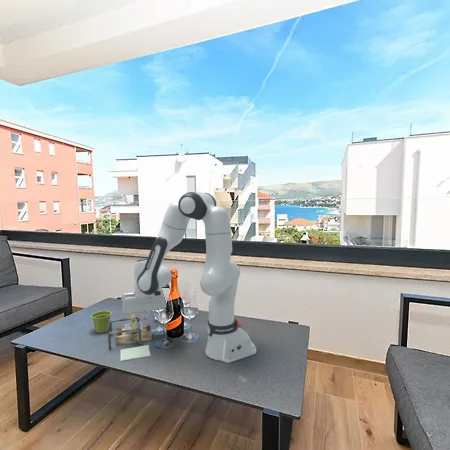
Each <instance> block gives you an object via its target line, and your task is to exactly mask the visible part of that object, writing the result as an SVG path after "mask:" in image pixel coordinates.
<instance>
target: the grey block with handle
mask: <svg viewBox="0 0 450 450" xmlns="http://www.w3.org/2000/svg"><path fill="white" fill-rule="evenodd" d="M142 326H143V321H139V322H137V321H136V328H140V329H141V332H143V327H142ZM124 329H125V330H128V329H132V327H131V322H130V323H124ZM133 333H139V330H138V331H131V332H125V335H126V334H133Z"/></svg>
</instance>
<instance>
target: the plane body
mask: <svg viewBox="0 0 450 450" xmlns="http://www.w3.org/2000/svg"><path fill="white" fill-rule="evenodd" d="M135 320H136V322H140V317H139V316H135ZM124 321H131V317H126V318H120V319H119V318H118V319H112V320H110V321H109V333H108V334H107V340H108V341H107V343H108V345H107V346H108V351H111V350H112V337H113V335H115V346H120V345H126V344H127V345H128V344H134V343H138V345H139V346H140V345H141V346H142V342H145V341H152V340H153V339H152V338H153V333H152V329H151V325H150V324H146V325H142V327H143V332H141V329H140V328H136V329H134V330H132V329H128V330H125V328H122V327H117V328H116V330H115V331H113V323H116V322H118V323H119V322H124ZM138 330H139V333H133V334H126V335H125V332H131V331H138Z"/></svg>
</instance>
